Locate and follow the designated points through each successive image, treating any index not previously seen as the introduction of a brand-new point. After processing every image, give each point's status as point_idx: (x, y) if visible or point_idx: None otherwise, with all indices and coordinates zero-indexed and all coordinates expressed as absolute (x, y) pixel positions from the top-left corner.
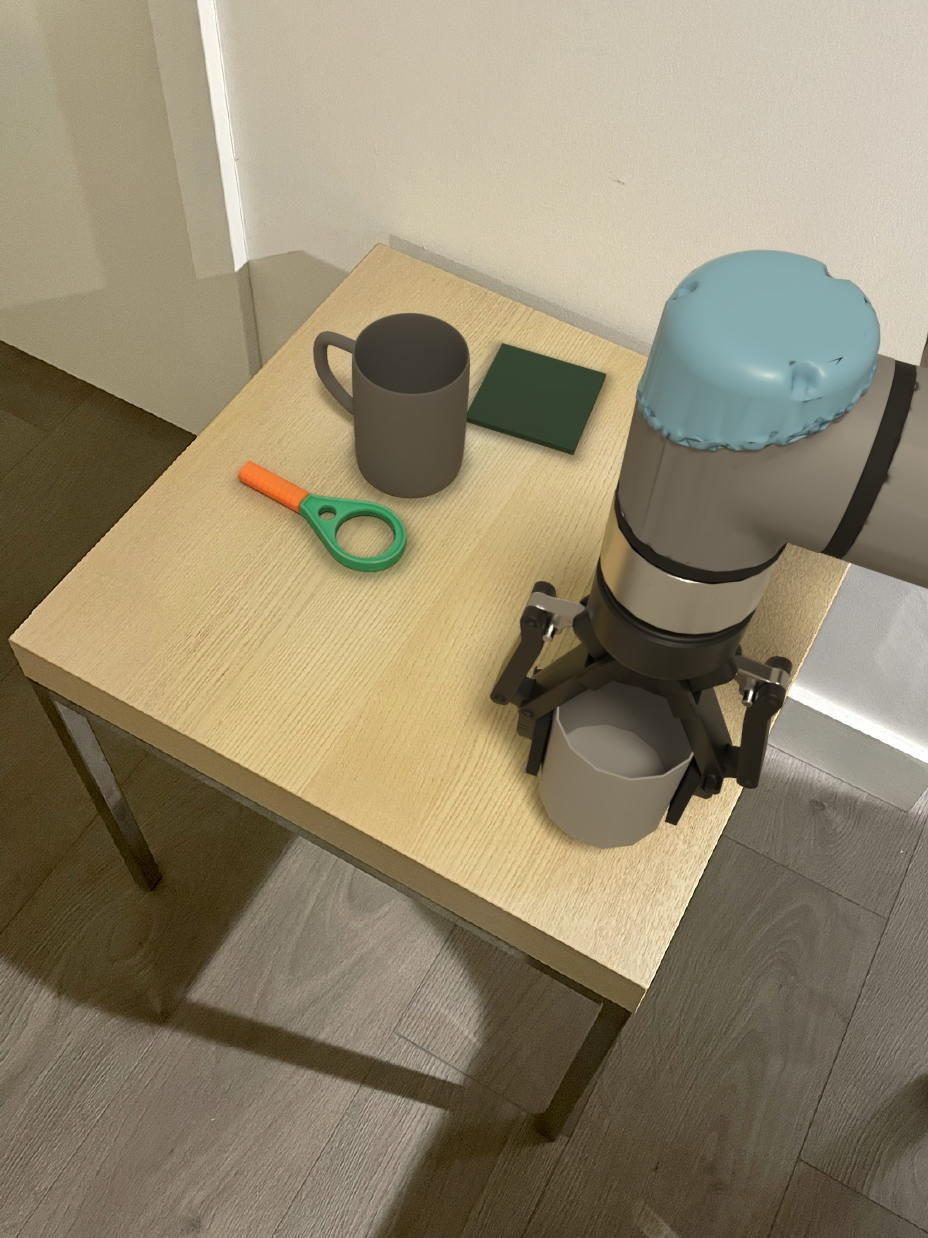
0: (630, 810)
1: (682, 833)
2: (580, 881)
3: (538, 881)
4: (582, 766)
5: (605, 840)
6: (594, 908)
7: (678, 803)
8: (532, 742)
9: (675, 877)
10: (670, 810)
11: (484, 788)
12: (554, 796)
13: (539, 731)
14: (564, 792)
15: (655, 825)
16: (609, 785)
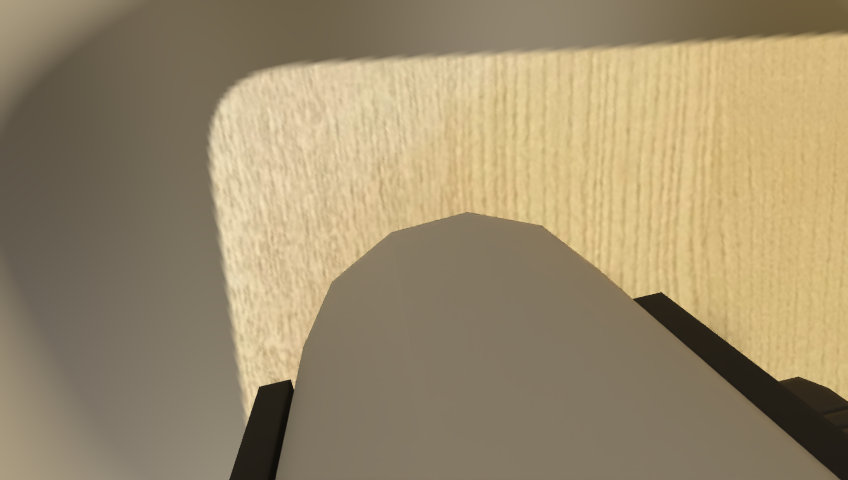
0: (369, 374)
1: (284, 362)
2: (398, 177)
3: (467, 131)
4: (730, 473)
5: (395, 249)
6: (348, 145)
7: (258, 465)
8: (780, 386)
9: (250, 284)
10: (280, 423)
11: (641, 233)
12: (596, 273)
13: (838, 450)
14: (602, 297)
15: (303, 359)
16: (526, 455)
